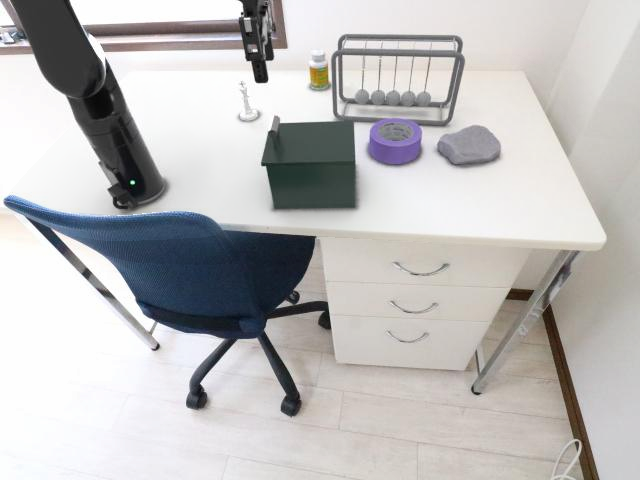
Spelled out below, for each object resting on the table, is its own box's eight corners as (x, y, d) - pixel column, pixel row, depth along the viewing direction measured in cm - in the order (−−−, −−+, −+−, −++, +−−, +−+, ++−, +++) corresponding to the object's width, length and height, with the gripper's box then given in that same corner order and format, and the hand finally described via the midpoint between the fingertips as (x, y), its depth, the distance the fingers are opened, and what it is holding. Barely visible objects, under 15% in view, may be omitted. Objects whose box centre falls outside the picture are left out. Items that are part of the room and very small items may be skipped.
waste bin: (274, 208, 77) (265, 166, 69) (281, 168, 86) (274, 126, 78) (354, 207, 76) (355, 164, 68) (353, 166, 85) (353, 124, 77)
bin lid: (261, 166, 69) (256, 143, 65) (270, 126, 78) (266, 104, 74) (355, 164, 68) (355, 140, 64) (353, 123, 77) (354, 101, 73)
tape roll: (358, 149, 89) (359, 131, 85) (392, 130, 94) (394, 112, 90) (395, 171, 83) (397, 152, 79) (429, 149, 87) (433, 131, 84)
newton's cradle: (332, 120, 98) (330, 50, 85) (339, 100, 105) (337, 33, 92) (450, 126, 93) (467, 53, 80) (449, 105, 100) (464, 34, 87)
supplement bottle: (319, 92, 109) (317, 58, 102) (307, 86, 112) (304, 52, 105) (332, 85, 111) (331, 51, 104) (320, 80, 114) (318, 46, 107)
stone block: (500, 162, 85) (476, 133, 90) (509, 147, 81) (483, 118, 86) (455, 178, 83) (432, 147, 88) (462, 163, 79) (438, 132, 84)
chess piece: (254, 121, 101) (247, 85, 93) (237, 120, 101) (228, 84, 94) (260, 111, 104) (253, 76, 96) (243, 110, 105) (235, 75, 97)
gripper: (229, -54, 57) (250, 54, 69) (208, -30, 48) (236, 91, 60) (277, -58, 57) (290, 52, 69) (265, -34, 47) (283, 89, 60)
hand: (265, 70), depth 64 cm, fingers open, 8 cm apart
